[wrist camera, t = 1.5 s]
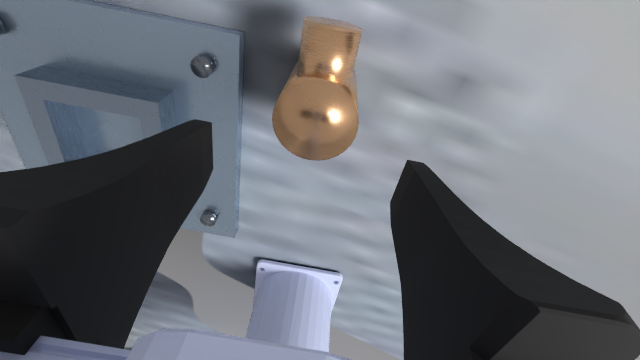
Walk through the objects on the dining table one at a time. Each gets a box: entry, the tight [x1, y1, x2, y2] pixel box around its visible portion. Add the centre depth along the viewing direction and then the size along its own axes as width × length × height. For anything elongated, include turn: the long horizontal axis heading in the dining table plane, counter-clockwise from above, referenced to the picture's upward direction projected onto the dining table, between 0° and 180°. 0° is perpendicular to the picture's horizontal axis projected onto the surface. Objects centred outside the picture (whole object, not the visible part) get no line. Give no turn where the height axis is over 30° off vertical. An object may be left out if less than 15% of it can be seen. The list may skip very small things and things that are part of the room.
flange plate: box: [0, 0, 245, 238], centre depth 21 cm, size 16×16×3 cm
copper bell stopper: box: [272, 17, 363, 160], centre depth 17 cm, size 6×4×6 cm, turn 170°
